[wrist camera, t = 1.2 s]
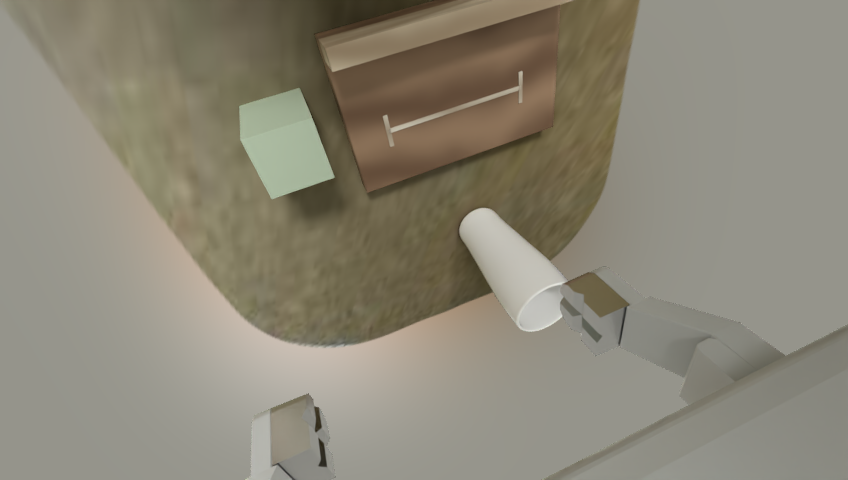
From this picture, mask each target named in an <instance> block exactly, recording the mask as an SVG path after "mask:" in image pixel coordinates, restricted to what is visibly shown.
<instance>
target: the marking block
mask: <svg viewBox="0 0 848 480" xmlns="http://www.w3.org/2000/svg"><path fill="white" fill-rule="evenodd" d="M239 110H240V140H241V142H242V144H243V146H244V148H245V150H246V151H247V153H248V155H249V157H250V159H251V161H252V163H253V165H254V167H255V168H256V170H257V172H258V174H259V176H260V178H261V180H262V182H263V184H264V186H265V187H266V189H267V191H268V193H269V195H270V197H271V199H274V198H277V197H280V196H283V195H286V194H289V193H291V192H294V191H297V190H300V189H303V188H306V187H309V186H312V185H315V184H318V183H320V182H323V181H326V180H329V179H332V178H335V177H334V174H333V172H332V169H331V166H330V164H329V161H328V158H327V156H326V153H325V150H324V148H323V145H322V143H321V140H320V137H319V135H318V132H317V129H316V127H315V124H314V121H313V119H312V116H311V114H310V111H309V109H308V107H307V104H306V102H305V99H304V97H303V95H302V92H301V90H300V88H297V89H294V90H291V91H287V92H284V93H281V94H277V95H274V96H271V97H267V98H264V99H261V100H257V101H254V102H251V103H247V104H244V105H241V106H239Z"/></svg>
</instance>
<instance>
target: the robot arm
mask: <svg viewBox="0 0 848 480" xmlns="http://www.w3.org/2000/svg"><path fill="white" fill-rule="evenodd" d="M560 293H561V294H562V295H563V296H564V297H563V299H562V300H561V302H560V311H561V314H562V316H563V318H564V320H565V322H566V323H567V324H568V325H569V327H570V328H571V329H572V330H574V331H577V332H579V333H581V341H582V342H583V343H584V344H585V345H586V346H587V347H588V348H589V349H590V351H591V352H592V353H593V354H594V355H595V356H597V355H600V354H602V353H604V352H607V351H609V350H611V349H614V348H616V347H618V346H620V348H622V349H625V350H627V351H629V352H631V353H633V354H635V355H637V356H639V357H641V358H643V359H646V360H648V361H650V362H652V363H654V364H656V365H658V366H661V367H662V368H665V369H667V370H669V371H671V372H673V373H675V374H677V375H680V376H682V377H684V381H683V384H682V386H681V389H680V397H681V398H682V399H683V400H684V401H685V402H686V403H687V404H688V406H686V407H684V408H682V409H680V410H679V411H676V412H674V413H672V414H671V415H668V416H666V417H664V418H663V419H661V420H659V421H657V422H655V423H653V424H651V425H649V426H647V427H645V428H643V429H641V430H639V431H637V432H635V433H633V434H631V435H629V436H627V437H625V438H623V439H621V440H619V441H617V442H615V443H613V444H611V445H610V446H607V447H606V448H603V449H602V450H600V451H598V452H596V453H594V454H592V455H590V456H588V457H586V458H584V459H582V460H580V461H578V462H576V463H574V464H572V465H570V466H568V467H566V468H564V469H562V470H560V471H558V472H556V473H554V474H552V475H550V476H548V477H547V478H544V479H543V480H848V324H847V325H845V326H843V327H841V328H840V329H838V330H836V331H834V332H832V333H830V334H828V335H826V336H824V337H822V338H820V339H818V340H816V341H814V342H812V343H810V344H808V345H806V346H804V347H802V348H800V349H798V350H796V351H794V352H792V353H790V354H788V355H786V356H785V355H784V354H783V353H781V352H780V351H779V350H777V349H776V348H774V347H773V346H772V345H770V344H769V343H767V342H766V341H765V340H763V339H762V338H761V337H759V336H758V335H756V334H755V333H753V332H752V331H751V330H750V329H748V328H747V327H745V326H744V325H743V324H741V323H740V322H737V321H734V320H730V319H727V318H723V317H720V316H716V315H713V314H709V313H706V312H702V311H698V310H695V309H692V308H688V307H685V306H681V305H678V304H674V303H671V302H667V301H664V300H661V299H657V298H654V297H647V298H645V297H644V296H643V295H642V294H640V293H639V292H638V291H637V290H635V289H634V288H633V287H632V286H631V285H629V284H628V283H627V282H626V281H625V280H623V279H622V278H621V277H619V276H618V275H617V274H616V273H615V272H614V271H612V270H611V269H610V268H609V267H606V266H603V267H601V268H598V269H596V270H594V271H591V272H588V273H586V274H584V275H581V276H580V277H577V278H575V279H573V280H570V281H568V282H566V283H563V284H562V285H561V287H560ZM329 439H330V436H329V431H328V426H327V423H326V420H325V418H324V415H323V413H322V411H321V410H320V408H319V407H315V406H314V402H313V399H312V397H311V396H310V395H309V394H306V395H303V396H301V397H298V398H296V399H293V400H291V401H288V402H286V403H283V404H281V405H278V406H276V407H273V408H271V409H268V410H266V411H264V412H261V413H259V414H257V415H254V417H253V420H252V434H251V476H250V477H248V478H246V479H245V480H331V479H333V478H335V477H336V476H335V469H334V463H333V456H332V453H331V452H330V451H329V449H328V448H327V444H328V442H329Z"/></svg>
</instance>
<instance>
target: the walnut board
mask: <svg viewBox="0 0 848 480" xmlns="http://www.w3.org/2000/svg"><path fill="white" fill-rule="evenodd" d="M570 1H573V0H435V1H431V2H427V3H424V4H420V5H417V6H413V7H409V8H406V9H402V10H399V11H395V12H392V13H388V14H384V15H381V16H377V17H374V18H370V19H366V20H363V21H359V22H356V23H352V24H348V25H345V26H341V27H338V28H334V29H330V30H327V31H323V32H320V33H316V34H314V35H315V38H316V41H317V44H318V48H319V51H320V54H321V57H322V60H323V63H324V66H325V69H326V72H327V75H328V78H329V81H330V85H331V88H332V91H333V94H334V97H335V100H336V103H337V106H338V109H339V112H340V115H341V118H342V122H343V125H344V128H345V131H346V134H347V137H348V140H349V143H350V146H351V149H352V152H353V155H354V159H355V162H356V165H357V168H358V171H359V174H360V177H361V180H362V183H363V185H364V187H365V189H366V191H367V193H368V192H371V191H374V190H377V189H379V188H382V187H385V186H388V185H391V184H393V183H396V182H399V181H402V180H405V179H407V178H410V177H413V176H416V175H419V174H422V173H424V172H427V171H430V170H433V169H436V168H438V167H441V166H444V165H447V164H450V163H452V162H455V161H458V160H461V159H464V158H466V157H469V156H472V155H475V154H478V153H480V152H483V151H486V150H489V149H492V148H494V147H497V146H500V145H503V144H506V143H508V142H511V141H514V140H517V139H520V138H522V137H525V136H528V135H531V134H534V133H536V132H539V131H542V130H545V129H548V128H551V127H553V119H554V103H555V86H556V69H557V52H558V35H559V19H560V4H563V3H567V2H570Z"/></svg>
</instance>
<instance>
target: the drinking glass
mask: <svg viewBox="0 0 848 480" xmlns="http://www.w3.org/2000/svg"><path fill="white" fill-rule="evenodd" d="M459 235H460V238H461V239H462V241H463V242H464V244H465V245H466V246H467V248H468V250H469V251H470V253H471V255H472V256H473V258H474V260H475V262H476V263H477V265H478V267H479V268H480V270H481V272H482V274H483V275H484V277H485V279H486V281H487V282H488V284H489V286H490V288H491V289H492V291H493V293H494V294H495V296H496V298H497V299H498V301H499V302H500V304H501V305H502V307H503V308H504V310H505V311H506V312H507V314H508V315H509V316H510V318H511V319H512V320H513V321H514V322H515V324H516V325H517V326H518V328H520V329H521V330H523V331H527V332H533V331H538V330H541V329H544V328H546V327H548V326H550V325H552V324H553V323H555V322H556V321H557V320H559V319H560V318H561V317H562V314H561V311H560V302H561V300H562V299H563V297H564V296H563V295H562V294H561V293H560V287H561V285H562V284H563V283H566V282H568V280H567V279H566V278H565V277H564V276H563V274H562V273H561V272H560V271H559V270H558V269H557V268H556V267H555V266H554V265H553V264H552V263H551V262H550V261H549V260H548V259H547V258H546V257H545V256H544V255H543V254H542V253H540V252H539V251H538V250H537V249H536V248H535V247H533V246H532V245H531V244H530V243H529V242H528V241H526V240H525V239H524V238H523V237H522V236H521V235H519V234H518V233H517V232H516V231H515V230H514V229H512V228H511V227H510V226H509V225H508V224H507V223H506V222H504V221H503V220H502V219H501V218H500V217H499V216H498V215H497V214H496V213H495V212H494V211H493V210H491V209H489V208H479V209H476V210H473V211H472V212H470V213H469V214H467V215H466V216H465V218H464V219H463V220H462V222H461V224H460V227H459Z"/></svg>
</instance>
